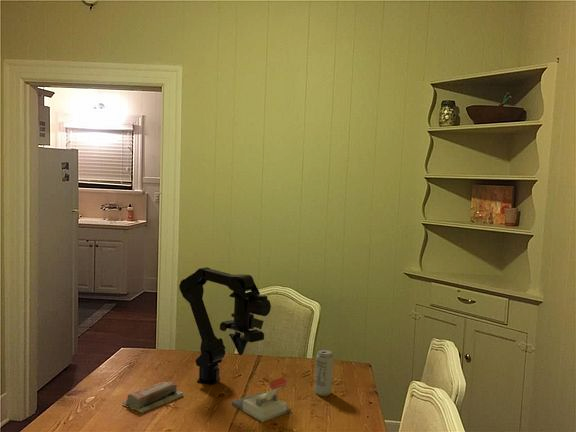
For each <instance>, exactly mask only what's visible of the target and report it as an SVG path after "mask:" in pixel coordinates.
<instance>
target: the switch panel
mask: <svg viewBox="0 0 576 432" xmlns="http://www.w3.org/2000/svg"><path fill="white" fill-rule="evenodd" d="M267 393H268V392H264V393H261V392H257V393H254V394H251V395H248V396H244V397H242V398H239V399H235V400H232V401H231V405H232V406H234V407H235V408H237V409H239V410H240V411H242V412H244V413H246V414H248V415H249V416H251V417H253V418H255V420H258V421H260V422H262V423H263V422H266V421H269V420H272V419H275V418H277V417H280V416H282V415H286V414H288V413H291V412H292V411H291V410H292V409H291V408H290V407H288V404H287V402H286V401H284V400H282V399H279V398H278V395H277V394H276V393H275V394H274V395H273V396H274V399H273V400H270V401H267V402H264V403H262V400H261V399H264V398H265V396H266V395H267Z"/></svg>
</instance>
